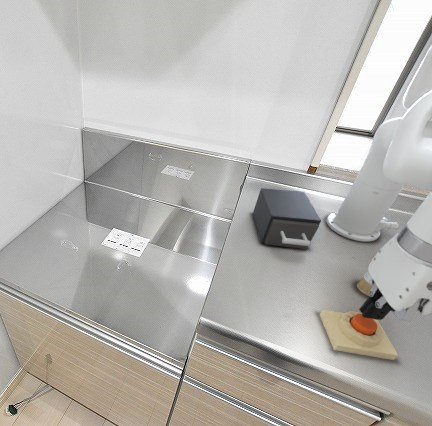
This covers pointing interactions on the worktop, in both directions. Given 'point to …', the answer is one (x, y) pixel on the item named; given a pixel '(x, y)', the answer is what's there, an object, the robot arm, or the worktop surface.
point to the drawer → (291, 233)
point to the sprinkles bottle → (365, 283)
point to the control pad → (356, 336)
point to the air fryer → (281, 209)
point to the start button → (363, 324)
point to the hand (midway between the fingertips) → (370, 314)
